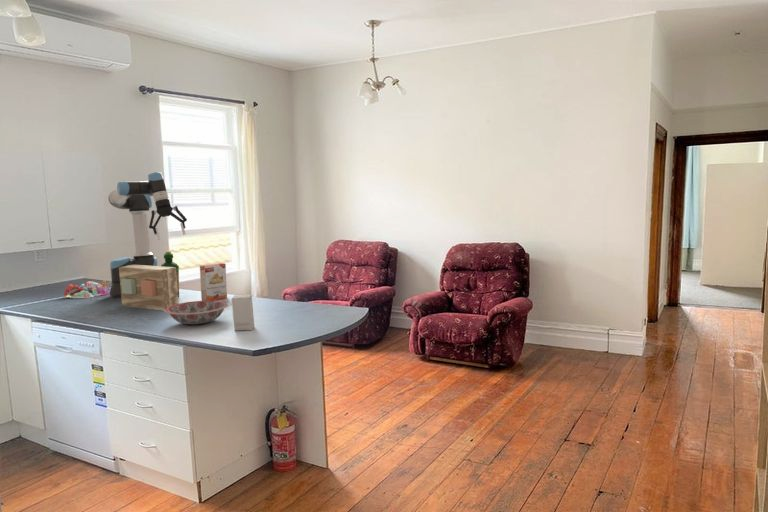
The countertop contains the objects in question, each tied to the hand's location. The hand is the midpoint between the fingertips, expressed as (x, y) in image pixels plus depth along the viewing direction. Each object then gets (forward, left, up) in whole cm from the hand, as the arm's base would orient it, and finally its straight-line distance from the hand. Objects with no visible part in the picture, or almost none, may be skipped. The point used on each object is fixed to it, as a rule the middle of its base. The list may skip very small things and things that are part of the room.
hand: (171, 237), depth 315 cm
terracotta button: (-7, -14, -30) cm, 34 cm away
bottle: (-14, +17, -38) cm, 44 cm away
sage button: (-23, -10, -30) cm, 39 cm away
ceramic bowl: (+36, -37, -38) cm, 64 cm away
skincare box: (+65, -46, -38) cm, 88 cm away
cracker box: (+15, +16, -38) cm, 44 cm away
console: (-13, -5, -38) cm, 41 cm away
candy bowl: (-75, +21, -39) cm, 87 cm away
